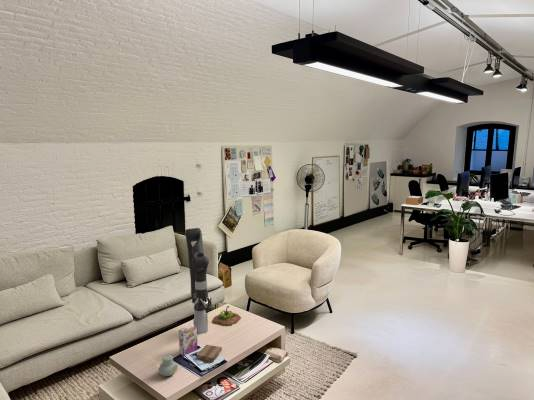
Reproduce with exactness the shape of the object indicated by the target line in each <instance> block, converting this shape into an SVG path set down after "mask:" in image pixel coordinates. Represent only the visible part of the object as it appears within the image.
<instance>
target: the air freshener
mask: <svg viewBox="0 0 534 400" xmlns="http://www.w3.org/2000/svg"><path fill="white" fill-rule="evenodd" d="M173 357H174V356H173V355H172V354H166V355H164V356H163V357H162V363H161V364H160V365H159V367H158V373H159V374H160V375H162V376H164V377H168V376H169V377H171V376H172V375H174V374H175V373H176V372H177V370H178V369H179V368H178V367H179V366H178V364H177V362H175V361H174V358H173Z"/></svg>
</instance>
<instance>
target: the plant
mask: <svg viewBox="0 0 534 400" xmlns="http://www.w3.org/2000/svg"><path fill="white" fill-rule="evenodd" d="M229 308H230V305H227V306H226V309H225V310H222V311H220V313H218V315H215V316H214V317H213V319H212V323H213V324H215V325H218V326H219V325H220V326H222V327H230V326H233V325H236V324H237V323H238V322H240V321H241V319H242V316H240V315H239V314H238V313H236V312H233V311H231V310H228V309H229Z"/></svg>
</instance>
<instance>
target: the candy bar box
mask: <svg viewBox="0 0 534 400" xmlns="http://www.w3.org/2000/svg"><path fill="white" fill-rule="evenodd" d="M178 341H179V342H178V346H179V354H180V355H181V356H182V357H184V356H186V355H185V354H187V353H189V354H191V353H193V352H195V351H197V350H198V333H197V326H195V325H194V324H190V325H188V326H185V327H183V328H180V329H178ZM194 350H195V351H194ZM192 351H193V352H192ZM190 352H191V353H190ZM187 355H188V354H187Z"/></svg>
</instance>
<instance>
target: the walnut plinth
mask: <svg viewBox="0 0 534 400" xmlns="http://www.w3.org/2000/svg"><path fill="white" fill-rule="evenodd" d="M222 350H223V347H222V346H215V345H211V344H205V346H204V347H203V348H202V349H201V350H200V351H199V352H198V353H197V354H196V359H197V358H198V359H197V360H201V359H202V361H206V362H208V361H209V362H210V363H214V362H215V361H216V360H217V358H218V357H219V356H220V353H221V352H222ZM214 360H215V361H214ZM209 362H208V363H209Z"/></svg>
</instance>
